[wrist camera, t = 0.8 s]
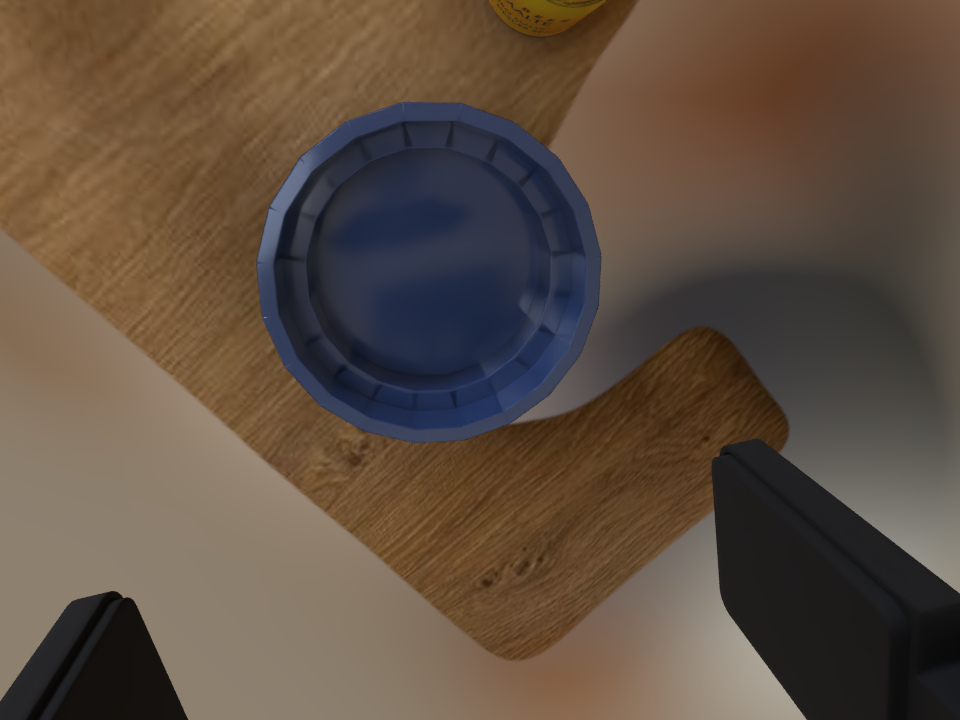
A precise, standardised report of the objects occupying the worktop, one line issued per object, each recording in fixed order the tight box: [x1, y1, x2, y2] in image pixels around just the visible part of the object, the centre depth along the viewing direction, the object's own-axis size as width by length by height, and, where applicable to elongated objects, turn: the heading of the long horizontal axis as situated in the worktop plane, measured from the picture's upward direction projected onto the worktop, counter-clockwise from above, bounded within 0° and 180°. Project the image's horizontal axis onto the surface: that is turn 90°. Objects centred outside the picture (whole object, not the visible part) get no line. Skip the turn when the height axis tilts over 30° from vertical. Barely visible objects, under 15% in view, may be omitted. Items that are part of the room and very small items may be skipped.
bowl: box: [256, 102, 601, 443], centre depth 34 cm, size 17×17×6 cm
